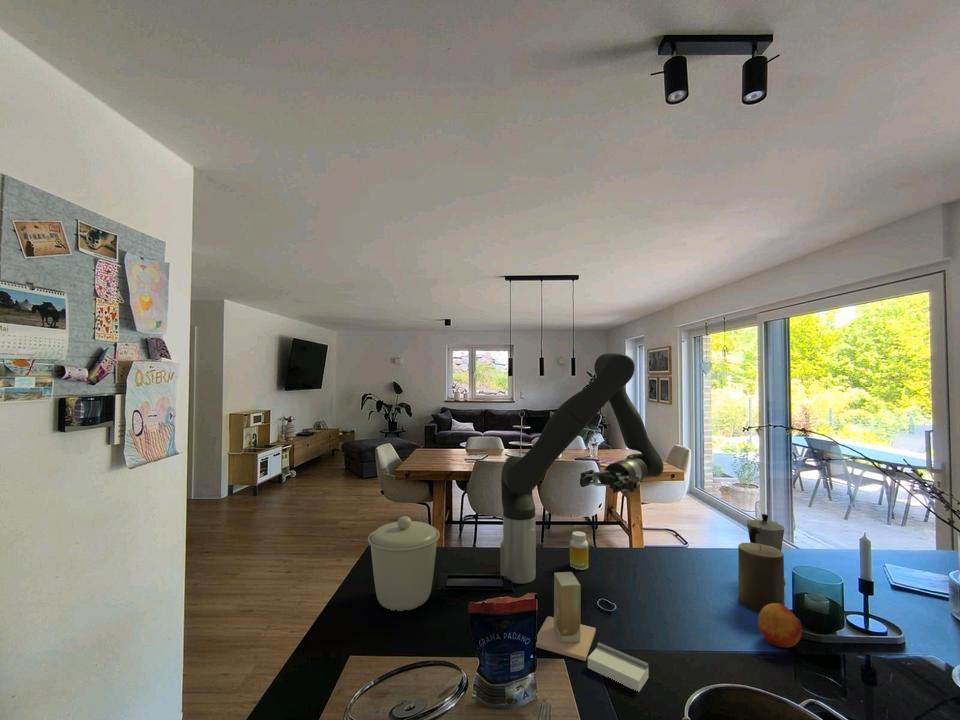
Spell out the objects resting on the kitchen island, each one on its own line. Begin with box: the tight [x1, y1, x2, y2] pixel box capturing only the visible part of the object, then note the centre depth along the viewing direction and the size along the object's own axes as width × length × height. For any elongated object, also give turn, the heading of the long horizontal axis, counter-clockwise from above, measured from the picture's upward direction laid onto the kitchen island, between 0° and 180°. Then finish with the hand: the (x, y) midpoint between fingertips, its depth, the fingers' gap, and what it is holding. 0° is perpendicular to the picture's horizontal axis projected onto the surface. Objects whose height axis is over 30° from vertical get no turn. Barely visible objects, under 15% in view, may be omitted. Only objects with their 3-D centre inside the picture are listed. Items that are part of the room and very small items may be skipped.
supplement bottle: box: [569, 531, 589, 571], centre depth 129 cm, size 5×5×10 cm
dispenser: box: [587, 642, 650, 693], centre depth 83 cm, size 10×5×3 cm, turn 50°
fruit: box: [757, 603, 803, 649], centre depth 92 cm, size 8×8×8 cm
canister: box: [367, 515, 441, 612], centre depth 109 cm, size 18×18×21 cm
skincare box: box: [553, 571, 581, 643], centre depth 93 cm, size 6×4×12 cm
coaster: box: [535, 615, 596, 662], centre depth 93 cm, size 11×11×1 cm
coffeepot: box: [746, 513, 786, 585], centre depth 121 cm, size 15×9×18 cm, turn 125°
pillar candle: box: [737, 542, 786, 614], centre depth 108 cm, size 10×10×15 cm
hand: (597, 485), depth 106 cm, fingers open, 8 cm apart
